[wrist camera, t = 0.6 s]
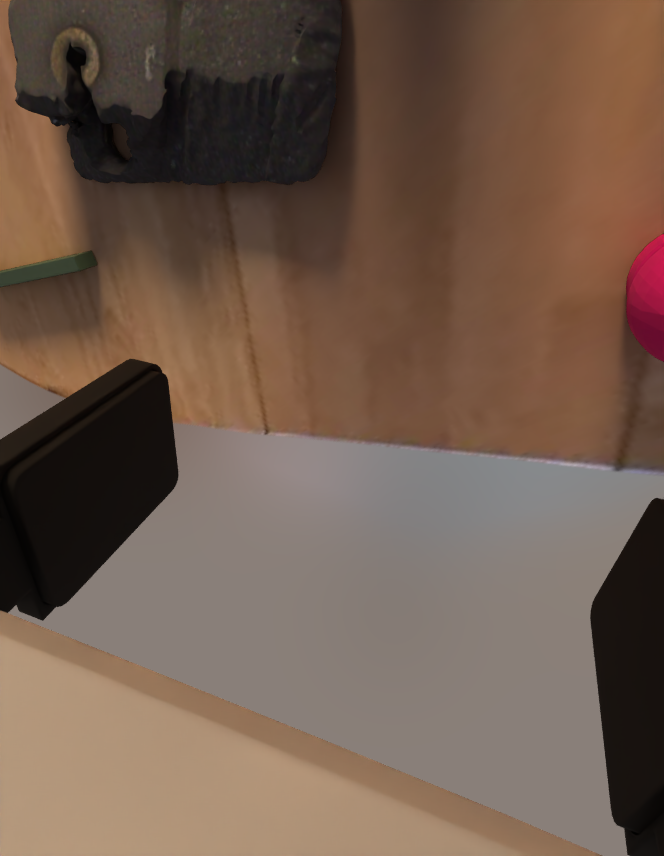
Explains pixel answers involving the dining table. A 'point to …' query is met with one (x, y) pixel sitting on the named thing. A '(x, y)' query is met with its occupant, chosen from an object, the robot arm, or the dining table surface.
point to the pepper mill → (647, 298)
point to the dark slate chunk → (183, 85)
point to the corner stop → (47, 268)
